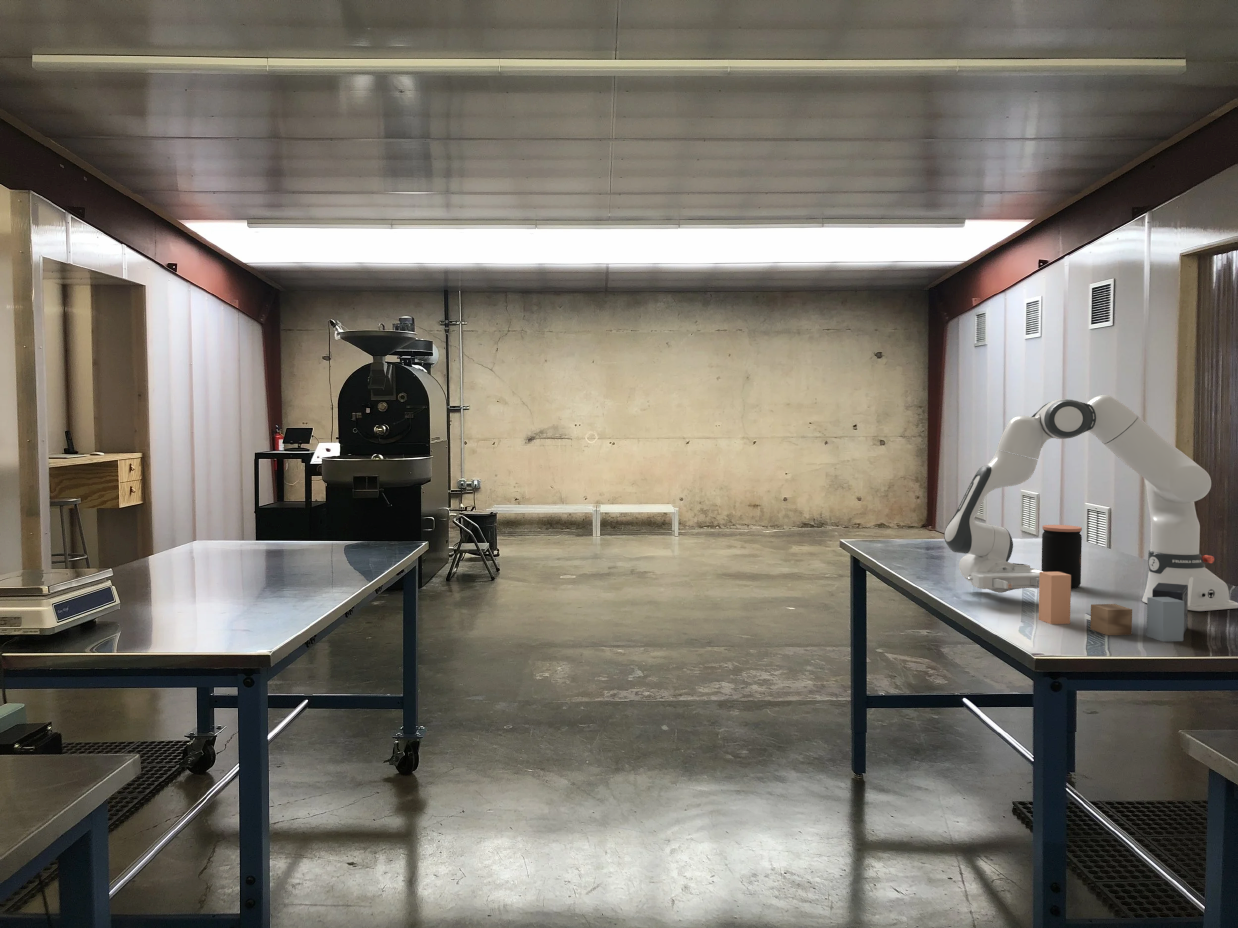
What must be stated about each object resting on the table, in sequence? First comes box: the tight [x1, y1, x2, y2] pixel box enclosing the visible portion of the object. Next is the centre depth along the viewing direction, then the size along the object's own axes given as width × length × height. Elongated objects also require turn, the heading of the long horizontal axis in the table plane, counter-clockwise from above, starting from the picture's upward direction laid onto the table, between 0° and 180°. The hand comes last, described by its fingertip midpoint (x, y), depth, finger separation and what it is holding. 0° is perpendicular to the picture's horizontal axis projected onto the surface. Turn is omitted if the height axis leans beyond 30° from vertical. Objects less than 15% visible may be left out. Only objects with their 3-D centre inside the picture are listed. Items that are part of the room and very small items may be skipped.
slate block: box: [1146, 597, 1185, 643], centre depth 189 cm, size 5×5×9 cm
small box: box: [1152, 583, 1189, 634], centre depth 197 cm, size 11×6×10 cm, turn 141°
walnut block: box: [1090, 603, 1133, 636], centre depth 195 cm, size 6×6×6 cm
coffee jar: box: [1040, 524, 1083, 590], centre depth 252 cm, size 11×11×18 cm
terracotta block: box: [1038, 572, 1072, 625], centre depth 206 cm, size 5×5×12 cm
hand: (1026, 585), depth 218 cm, fingers open, 8 cm apart
